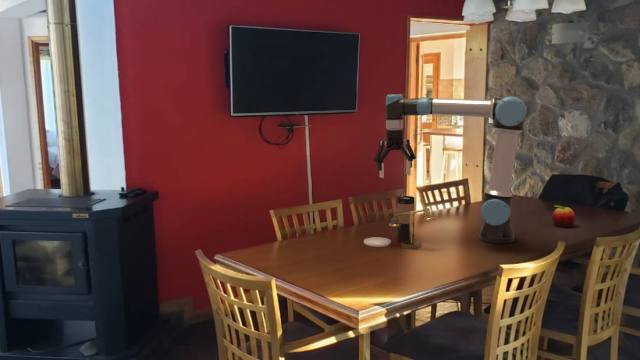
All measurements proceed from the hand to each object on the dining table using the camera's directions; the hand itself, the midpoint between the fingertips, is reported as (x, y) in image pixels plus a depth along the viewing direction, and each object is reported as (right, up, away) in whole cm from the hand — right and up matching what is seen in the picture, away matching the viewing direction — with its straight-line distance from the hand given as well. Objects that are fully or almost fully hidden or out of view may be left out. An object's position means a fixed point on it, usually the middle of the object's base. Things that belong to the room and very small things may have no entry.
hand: (395, 176), depth 256 cm
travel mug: (+5, -29, +3) cm, 30 cm away
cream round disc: (-8, -30, -1) cm, 31 cm away
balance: (+6, -31, -8) cm, 33 cm away
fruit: (+86, -25, +25) cm, 93 cm away
